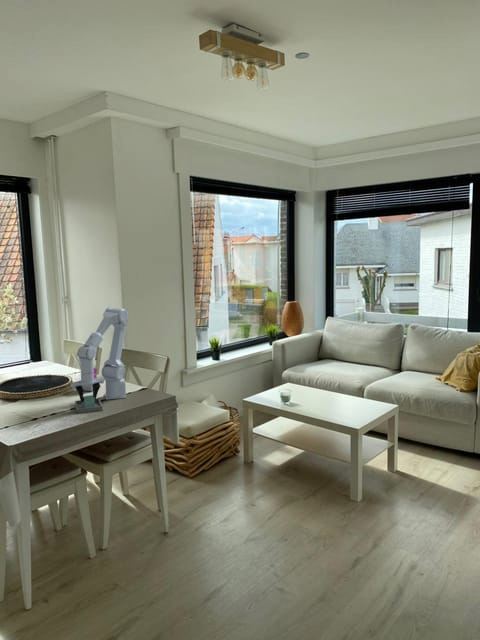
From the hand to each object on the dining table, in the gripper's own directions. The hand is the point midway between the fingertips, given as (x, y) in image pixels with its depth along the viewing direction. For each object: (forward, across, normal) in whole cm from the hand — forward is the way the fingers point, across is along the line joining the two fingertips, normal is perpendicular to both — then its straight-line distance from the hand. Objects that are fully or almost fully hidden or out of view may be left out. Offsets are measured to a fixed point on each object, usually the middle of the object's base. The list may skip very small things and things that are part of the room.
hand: (88, 400), depth 224 cm
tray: (+4, 0, 0) cm, 4 cm away
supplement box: (+4, -8, -24) cm, 26 cm away
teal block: (+3, 0, 0) cm, 3 cm away
